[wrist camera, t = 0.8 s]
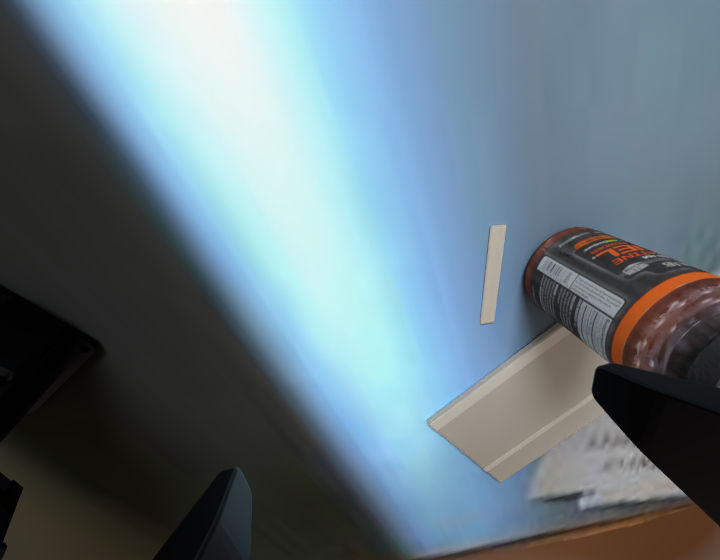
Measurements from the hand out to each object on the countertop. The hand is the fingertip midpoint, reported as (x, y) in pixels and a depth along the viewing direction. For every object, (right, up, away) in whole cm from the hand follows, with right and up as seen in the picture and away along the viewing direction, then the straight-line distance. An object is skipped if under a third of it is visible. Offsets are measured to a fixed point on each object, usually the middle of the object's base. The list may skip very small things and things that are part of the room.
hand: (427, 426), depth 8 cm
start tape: (+7, +4, +14) cm, 16 cm away
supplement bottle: (+12, +5, +15) cm, 20 cm away
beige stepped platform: (+13, -6, +20) cm, 25 cm away
